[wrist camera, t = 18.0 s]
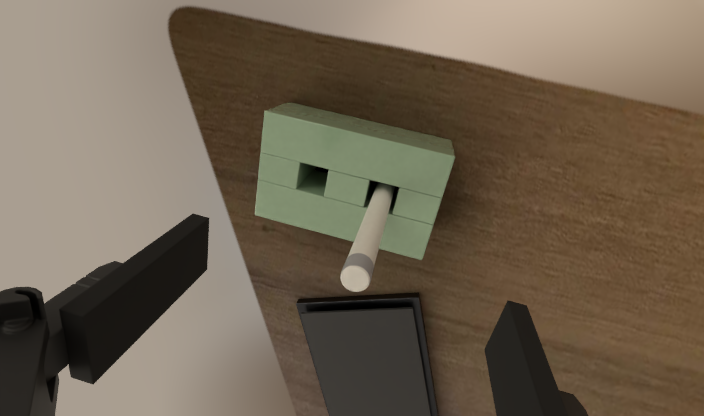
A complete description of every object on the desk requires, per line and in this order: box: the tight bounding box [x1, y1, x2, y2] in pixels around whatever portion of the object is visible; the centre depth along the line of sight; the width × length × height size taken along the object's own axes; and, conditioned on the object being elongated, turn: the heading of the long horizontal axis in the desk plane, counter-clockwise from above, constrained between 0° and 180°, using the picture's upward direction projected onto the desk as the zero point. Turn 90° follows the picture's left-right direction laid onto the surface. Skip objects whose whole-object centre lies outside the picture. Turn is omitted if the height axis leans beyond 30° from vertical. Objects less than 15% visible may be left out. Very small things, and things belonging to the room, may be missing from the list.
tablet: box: [296, 293, 439, 416], centre depth 39 cm, size 18×12×1 cm, turn 11°
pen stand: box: [255, 102, 455, 260], centre depth 29 cm, size 8×13×5 cm, turn 79°
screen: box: [301, 307, 431, 416], centre depth 38 cm, size 17×11×1 cm, turn 11°
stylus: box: [340, 182, 395, 292], centre depth 24 cm, size 1×1×15 cm
